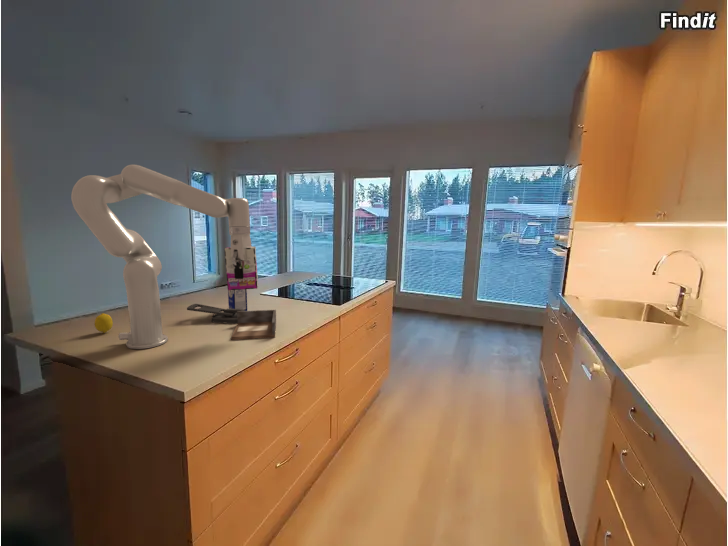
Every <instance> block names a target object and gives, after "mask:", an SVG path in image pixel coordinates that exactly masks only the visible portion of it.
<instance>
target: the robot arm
mask: <svg viewBox="0 0 728 546" xmlns="http://www.w3.org/2000/svg"><path fill="white" fill-rule="evenodd" d="M142 194H144V195H146V196H150V197H153V198H156V199H158V200H161V201H164V202H166V203H170V204H171V205H175V206H179V207H183V208H187V209H189V210H191V211H192V210H193V211H194V212H197V213H200V214H203V215H206V216H208V217H211V218H213V219H214V218H216V219H217V218H219V219H220V218H225V217H227V218H228V229H229V230H228V231H229V236H230V247H231V258H232V263H233V265H234V274H235V279H243V278H244V277H243V268H242V261H246V260H247V253H246V248H247V247H253V246H252V240H251V239H252V238H251V224H250V222H251V221H250V205H249V200H248V199H247V198H244V197H232V198H231V197H230V198H223V197H220V196H218V195H215V194H213V193H210V192H208V191H206V190H202V189H200V188H198V187H195V186H192V185H189V184H187V183H185V182H183V181H181V180H178V179H176V178H173V177H170V176H168V175H165V174H162V173H160V172H158V171H155V170H152V169H150V168H147V167H144V166H142V165H139V164H128V165H126V166H124V168H122V170H121V172H120V173H119V174H115V175H112V176H108V177H105V176H101V175H98V174H97V175H95V174H94V175H93V174H91V175H90V174H88V175H86V176H83V177H81V178H79V179H78V180H77V181H76V183H75V184H74V185H73V187H72V190H71V194H70V195H71V203H72V206H73V209H74V210H75V212H76V213H77V215H78V216H79V218H80V219H81V220H82V221H83V222H84V224H85V225H86V226H87V228H88V229H89V230H90V231H91V233H92V234H93V235H94V236H95V237H96V239H97V240H98V242H99V243H100V244H101V245H102V246H103V248H104V249H105V250H106V252H107V253H108V254H109V255H111V256H113V257H116V258H122V259H123V260H124V261H125V263H126V264H125V265H124V267H123V271H122V275H123V280H124V281H123V282H124V285H125V291H126V297H127V300H126V301H127V308H128V317H129V327H130V330H129V332H119V333H118V336H117V337H118V338H119V341H122V340H123V341H124V340H127V341H126V343H125V344H126V347H127V348H128V349H132V350H143V349H144V350H145V349H152V348H154V347H158V346H159V347H160V346H161V345H163V344H165V343H166V342H168V339H169V337H168V335H166V334H163V325H162V324H163V323H162V311H161V310H162V309H161V300H160V299H161V298H160V297H161V296H160V290H159V289H160V288H159V284H158V283H159V282H158V276H159V275H160V273H161V272H162V268H163V266H162V262H161V260H160V259H159V257H158V256H157V255H156V253H155V252H154V251H153V249H152V248H151V247H150V245H149V244H148V243H147V242H146V241H145V239H144V238H143V237H142V235H140V233H138V232H137V231H135V230H133V229H129V228H127V227H125V225H123V223H122V222H121V220H120V219H119V218H118V216H117V215H116V214H115V213H114V212H113V211H112V209H110V207H109V206H108V204H113V203H118V202H122V201H124V200H127V199H130V198H132V197H133V198H134V197H136V196H140V195H142ZM237 259H240V260H237ZM238 262H240V265H239V263H238Z"/></svg>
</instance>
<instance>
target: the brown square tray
mask: <svg viewBox="0 0 728 546" xmlns="http://www.w3.org/2000/svg"><path fill="white" fill-rule="evenodd" d="M237 319H238V323H237V324H236V326H235V328H234V331H233V333H232V335H231V338H230V339H231V340H232V341H234V340H235V341H238V340H240V341H241V340H254V339H255V338H258V339H272V338H274V339H275V338H276V332H275V331H277V329H276V328H277V310H276V309H263V310H262V309H261V310H259V309H258V310H247V311H237Z"/></svg>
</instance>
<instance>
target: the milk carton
mask: <svg viewBox="0 0 728 546" xmlns="http://www.w3.org/2000/svg"><path fill="white" fill-rule="evenodd" d="M247 290H248V289H242V290H228V289H227V299H228V302H227V303H228V309H243V310H245V311H248V296H247V295H248V291H247Z"/></svg>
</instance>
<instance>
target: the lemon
mask: <svg viewBox="0 0 728 546" xmlns="http://www.w3.org/2000/svg"><path fill="white" fill-rule="evenodd" d="M113 324H114V323H113V319H112V317H111V315H109V314H108V313H107V314H106V313H100V314H99V315H98V316H96V317H95V320H94V327H95V329H96V330H97V332H101V333H103V334H105V332H106V333H107V332H108V331H110V330H111V329H112V328H113V326H114V325H113Z"/></svg>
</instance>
